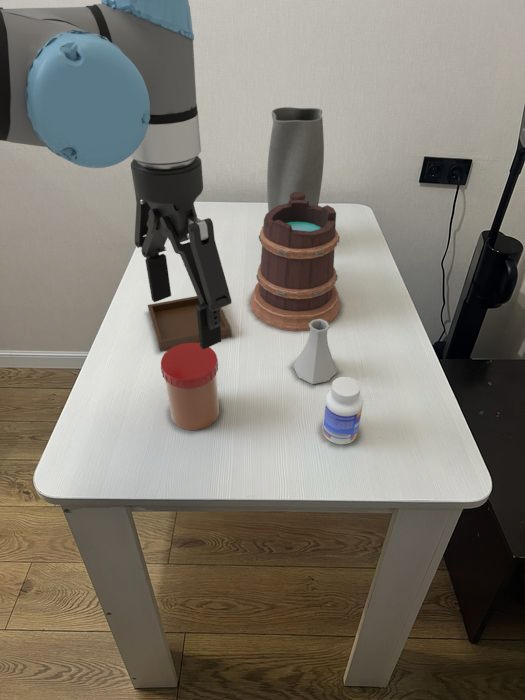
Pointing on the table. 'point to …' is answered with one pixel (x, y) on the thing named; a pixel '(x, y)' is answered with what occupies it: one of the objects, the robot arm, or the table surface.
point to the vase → (295, 155)
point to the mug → (297, 266)
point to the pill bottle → (342, 411)
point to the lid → (189, 365)
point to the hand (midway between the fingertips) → (184, 319)
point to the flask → (316, 355)
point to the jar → (194, 405)
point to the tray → (179, 322)
